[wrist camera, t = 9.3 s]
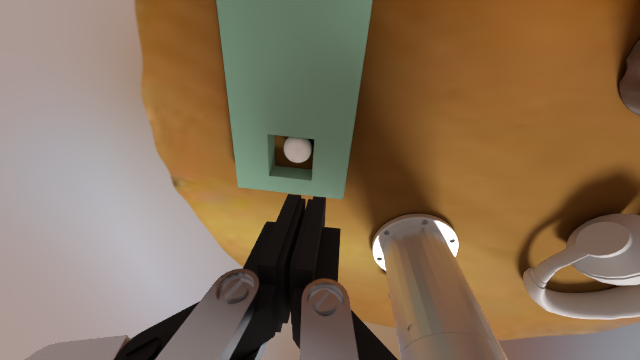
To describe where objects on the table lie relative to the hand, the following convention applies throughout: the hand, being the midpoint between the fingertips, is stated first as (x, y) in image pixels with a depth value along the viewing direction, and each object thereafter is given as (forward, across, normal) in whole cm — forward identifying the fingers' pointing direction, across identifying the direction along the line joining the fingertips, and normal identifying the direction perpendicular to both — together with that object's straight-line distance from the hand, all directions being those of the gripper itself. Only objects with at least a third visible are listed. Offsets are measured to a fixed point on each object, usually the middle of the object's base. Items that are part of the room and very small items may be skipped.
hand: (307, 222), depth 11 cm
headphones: (+22, -40, +19) cm, 49 cm away
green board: (+20, +4, -4) cm, 21 cm away
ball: (+19, +4, +4) cm, 19 cm away
